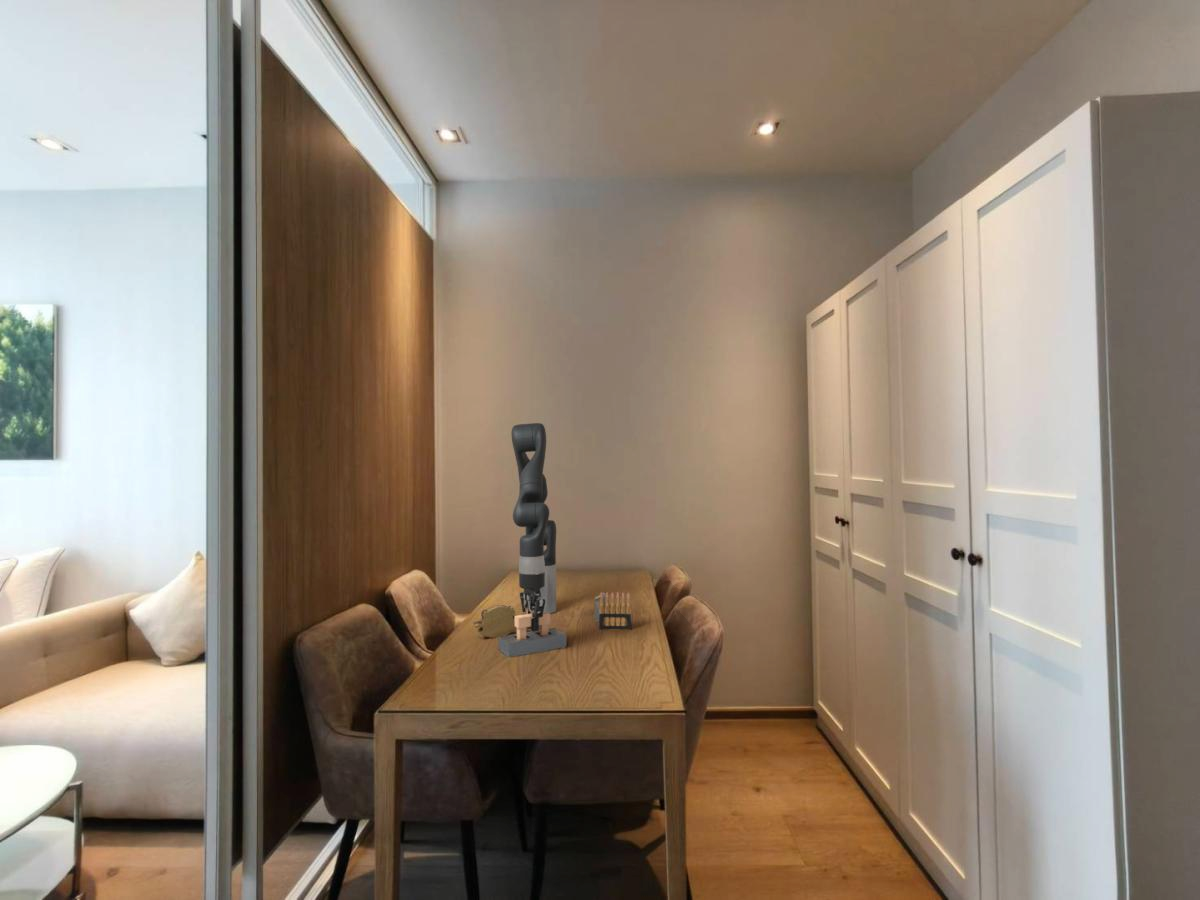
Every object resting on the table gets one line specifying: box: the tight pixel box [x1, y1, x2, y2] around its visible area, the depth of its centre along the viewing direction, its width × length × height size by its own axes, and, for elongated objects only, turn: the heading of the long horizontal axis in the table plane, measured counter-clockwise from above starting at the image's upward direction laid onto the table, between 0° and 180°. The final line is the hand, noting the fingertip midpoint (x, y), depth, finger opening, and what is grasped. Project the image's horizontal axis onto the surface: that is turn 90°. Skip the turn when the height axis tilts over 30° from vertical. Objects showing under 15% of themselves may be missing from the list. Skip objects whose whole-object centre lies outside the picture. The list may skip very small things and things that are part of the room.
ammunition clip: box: [598, 591, 633, 630], centre depth 209 cm, size 11×2×12 cm, turn 84°
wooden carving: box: [473, 604, 518, 639], centre depth 201 cm, size 16×5×10 cm, turn 123°
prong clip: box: [515, 612, 551, 639], centre depth 188 cm, size 3×10×8 cm, turn 120°
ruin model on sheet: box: [593, 592, 607, 621], centre depth 224 cm, size 11×3×10 cm, turn 168°
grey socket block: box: [498, 627, 567, 658], centre depth 188 cm, size 8×18×4 cm, turn 120°
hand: (532, 629), depth 188 cm, fingers closed on prong clip, 3 cm apart
